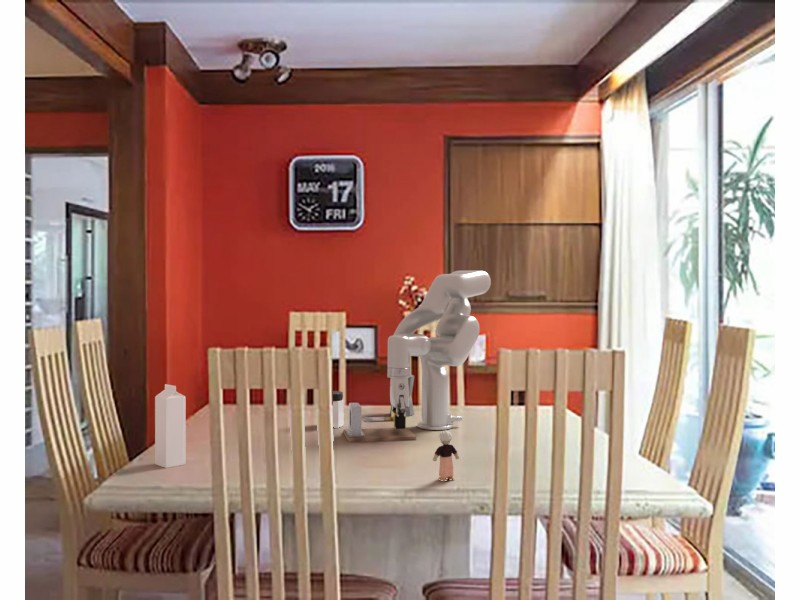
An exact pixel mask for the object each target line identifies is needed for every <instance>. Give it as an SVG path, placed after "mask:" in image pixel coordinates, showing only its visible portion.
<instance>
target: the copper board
mask: <svg viewBox="0 0 800 600" xmlns="http://www.w3.org/2000/svg"><path fill="white" fill-rule="evenodd" d="M342 430H343V431H342V432H343V434H344V437H345V438H346V440H347V441H348V443H360V442H364V441H366V442H389V441H390V442H391V441H393V440H395V441H413V440H412V439H416V440H417V436H416V435H415V434H414V433H413V432H412V431H411V430H410V428H408V427H405V429H396V428H394V427H386V428H385V427H384V428H383V427H382V428H361V430H362V432H363V433H364V435H365V437H349V436H348V434H347V433H346V429H342ZM393 442H394V441H393Z"/></svg>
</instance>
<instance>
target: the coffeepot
mask: <svg viewBox="0 0 800 600" xmlns="http://www.w3.org/2000/svg"><path fill="white" fill-rule="evenodd" d="M414 381H415V375H414V374H410V377H409V378H408V385H409V407H408V408H406V407H405V412H406V417H413V416H414V414H415V412H414V406H413V399H412V393H413V388H414ZM398 407H399V406H398ZM391 411H392V404H390V412H389V414H390V415H391Z"/></svg>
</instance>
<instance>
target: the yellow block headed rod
mask: <svg viewBox="0 0 800 600" xmlns="http://www.w3.org/2000/svg"><path fill="white" fill-rule="evenodd" d="M390 411H391V410H390ZM398 411H399V410H398ZM390 415H391V416H373V417H370V416H369V417H367V416H366V417H364V418H363V419H362V421H363V422H364V423H389V422H390V424H391V426H392V428H396V416H397V414H396V411H391V414H390ZM405 416H406V412H405ZM406 417H407V416H406ZM406 426H407V418H406V419H405V428H407V427H406Z"/></svg>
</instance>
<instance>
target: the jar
mask: <svg viewBox="0 0 800 600" xmlns="http://www.w3.org/2000/svg"><path fill="white" fill-rule="evenodd" d="M332 391H333V423H334V428H333V429H339V427H340V428H342V427H343V426H344V425H345V420H344V419H345V415H344V414H345V411H344V410H345V405H344V404H345V400H344V395H343V394H344V392H343V391H339V390H332Z"/></svg>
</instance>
